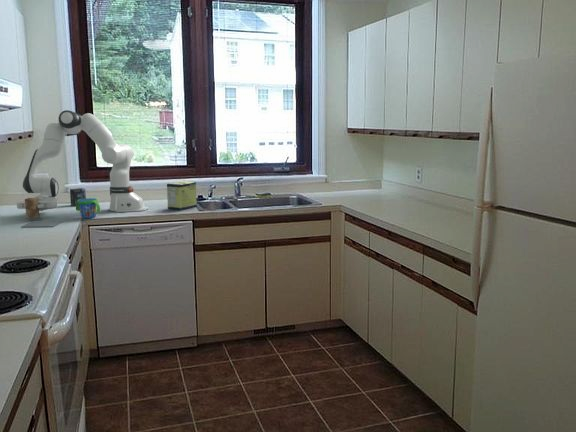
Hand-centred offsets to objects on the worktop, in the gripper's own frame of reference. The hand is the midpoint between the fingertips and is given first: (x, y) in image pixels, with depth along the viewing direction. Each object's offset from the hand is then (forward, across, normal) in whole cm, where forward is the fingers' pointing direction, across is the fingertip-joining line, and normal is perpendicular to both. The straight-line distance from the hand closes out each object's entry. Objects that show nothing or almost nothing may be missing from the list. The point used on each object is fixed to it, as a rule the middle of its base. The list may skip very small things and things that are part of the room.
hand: (31, 206), depth 304 cm
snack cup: (-8, +28, +8) cm, 30 cm away
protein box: (-37, +76, +9) cm, 85 cm away
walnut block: (-1, 0, +6) cm, 6 cm away
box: (-50, +9, +8) cm, 51 cm away
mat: (+11, +10, +8) cm, 16 cm away
